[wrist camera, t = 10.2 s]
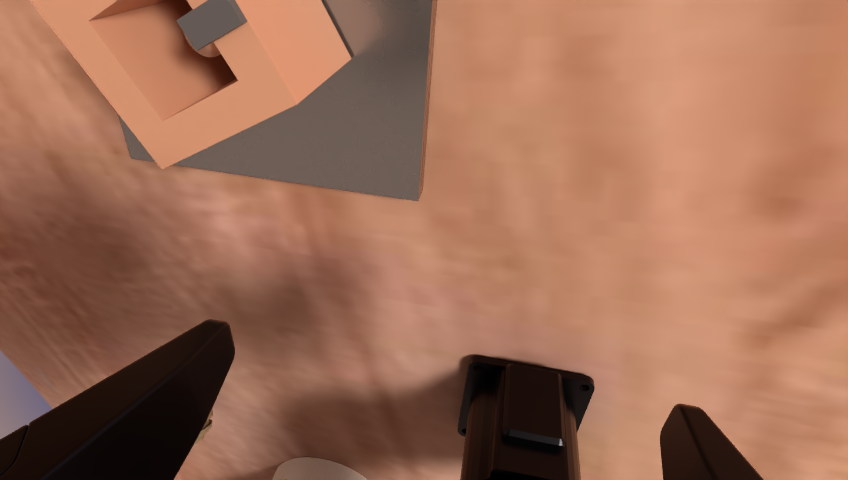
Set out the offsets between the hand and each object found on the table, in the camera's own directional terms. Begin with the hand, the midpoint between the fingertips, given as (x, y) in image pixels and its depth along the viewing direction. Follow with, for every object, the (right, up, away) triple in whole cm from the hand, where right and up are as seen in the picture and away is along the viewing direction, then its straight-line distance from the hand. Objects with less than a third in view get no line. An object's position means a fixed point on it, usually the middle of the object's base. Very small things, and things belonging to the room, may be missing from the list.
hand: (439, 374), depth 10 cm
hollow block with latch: (-6, +11, +7) cm, 14 cm away
